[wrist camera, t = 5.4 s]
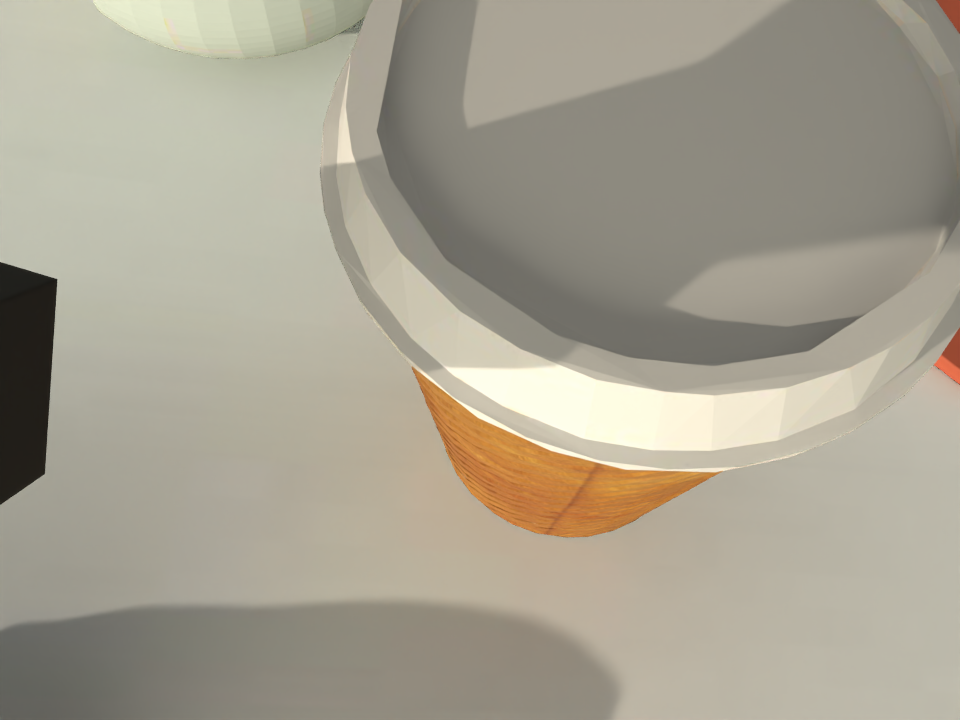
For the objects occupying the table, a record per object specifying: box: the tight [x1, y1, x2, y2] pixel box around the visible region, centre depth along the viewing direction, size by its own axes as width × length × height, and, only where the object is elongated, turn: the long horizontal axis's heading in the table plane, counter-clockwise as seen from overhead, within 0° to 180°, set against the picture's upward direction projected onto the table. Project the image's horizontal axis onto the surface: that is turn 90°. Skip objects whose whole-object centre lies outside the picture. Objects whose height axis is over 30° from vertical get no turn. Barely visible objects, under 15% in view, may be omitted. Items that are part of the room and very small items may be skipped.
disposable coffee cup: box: [320, 0, 960, 537], centre depth 17 cm, size 10×10×12 cm
